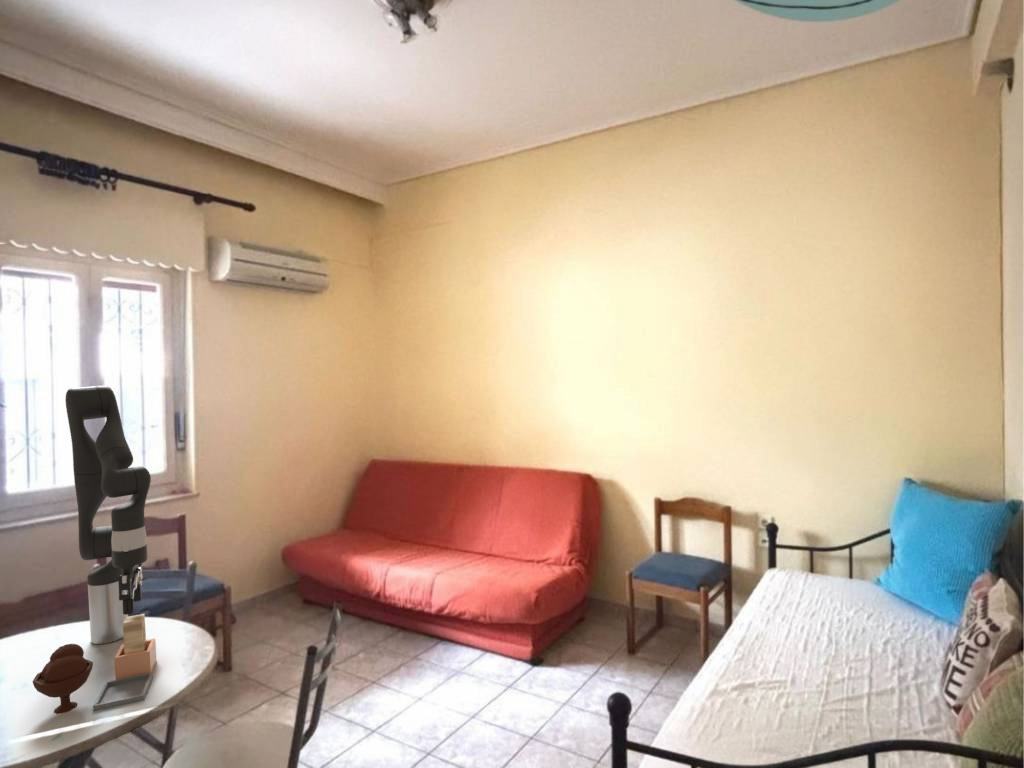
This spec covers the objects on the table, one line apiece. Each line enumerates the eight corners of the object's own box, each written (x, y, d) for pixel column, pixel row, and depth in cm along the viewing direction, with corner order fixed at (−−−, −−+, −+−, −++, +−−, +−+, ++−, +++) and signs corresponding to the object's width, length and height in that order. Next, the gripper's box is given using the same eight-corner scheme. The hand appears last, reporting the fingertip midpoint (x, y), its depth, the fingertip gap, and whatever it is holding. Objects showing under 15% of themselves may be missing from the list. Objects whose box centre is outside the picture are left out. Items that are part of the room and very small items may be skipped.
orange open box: (123, 670, 149) (121, 644, 149) (156, 663, 152) (155, 638, 152) (115, 685, 142) (114, 658, 142) (151, 678, 145) (149, 651, 145)
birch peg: (129, 669, 148) (126, 616, 148) (147, 665, 150) (144, 613, 149) (125, 676, 145) (122, 623, 144) (144, 673, 146) (141, 620, 146)
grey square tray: (106, 689, 141) (105, 681, 140) (153, 679, 144) (152, 672, 144) (93, 714, 130) (93, 706, 130) (144, 703, 134) (143, 695, 134)
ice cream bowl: (32, 712, 132) (28, 649, 131) (91, 691, 140) (88, 632, 139) (37, 732, 124) (33, 665, 124) (99, 709, 132) (95, 647, 132)
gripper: (119, 539, 151) (122, 599, 152) (104, 555, 138) (107, 621, 138) (152, 535, 154) (155, 594, 154) (140, 550, 141) (143, 615, 141)
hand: (132, 607), depth 146 cm, fingers open, 8 cm apart
